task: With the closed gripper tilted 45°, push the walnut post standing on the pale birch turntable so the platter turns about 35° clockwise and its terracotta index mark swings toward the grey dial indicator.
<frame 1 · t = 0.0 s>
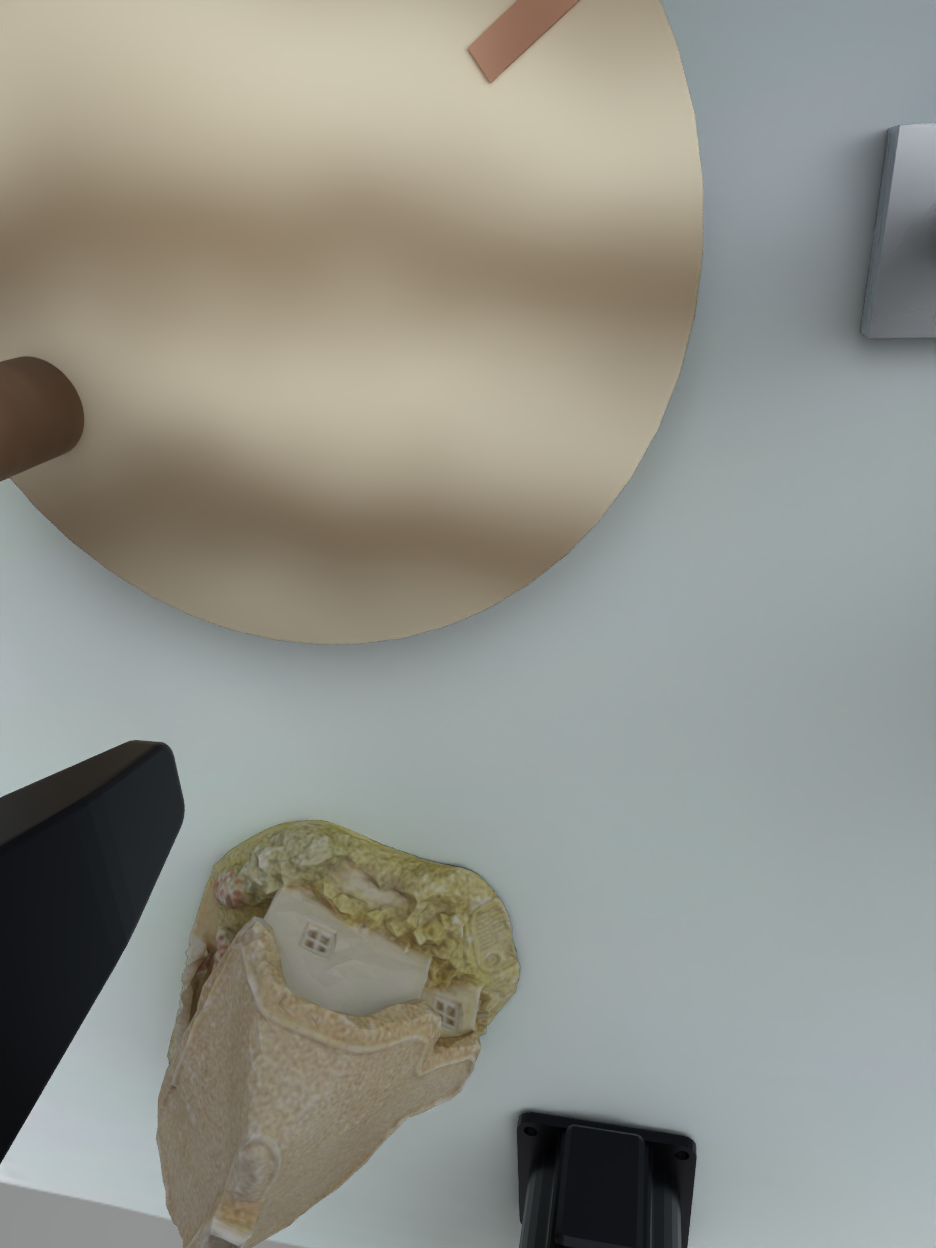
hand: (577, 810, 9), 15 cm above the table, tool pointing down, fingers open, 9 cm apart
turntable: (186, 281, 16), point 7 cm above the table, hinge at 0.0°
ceramic model: (342, 958, 32), on the table
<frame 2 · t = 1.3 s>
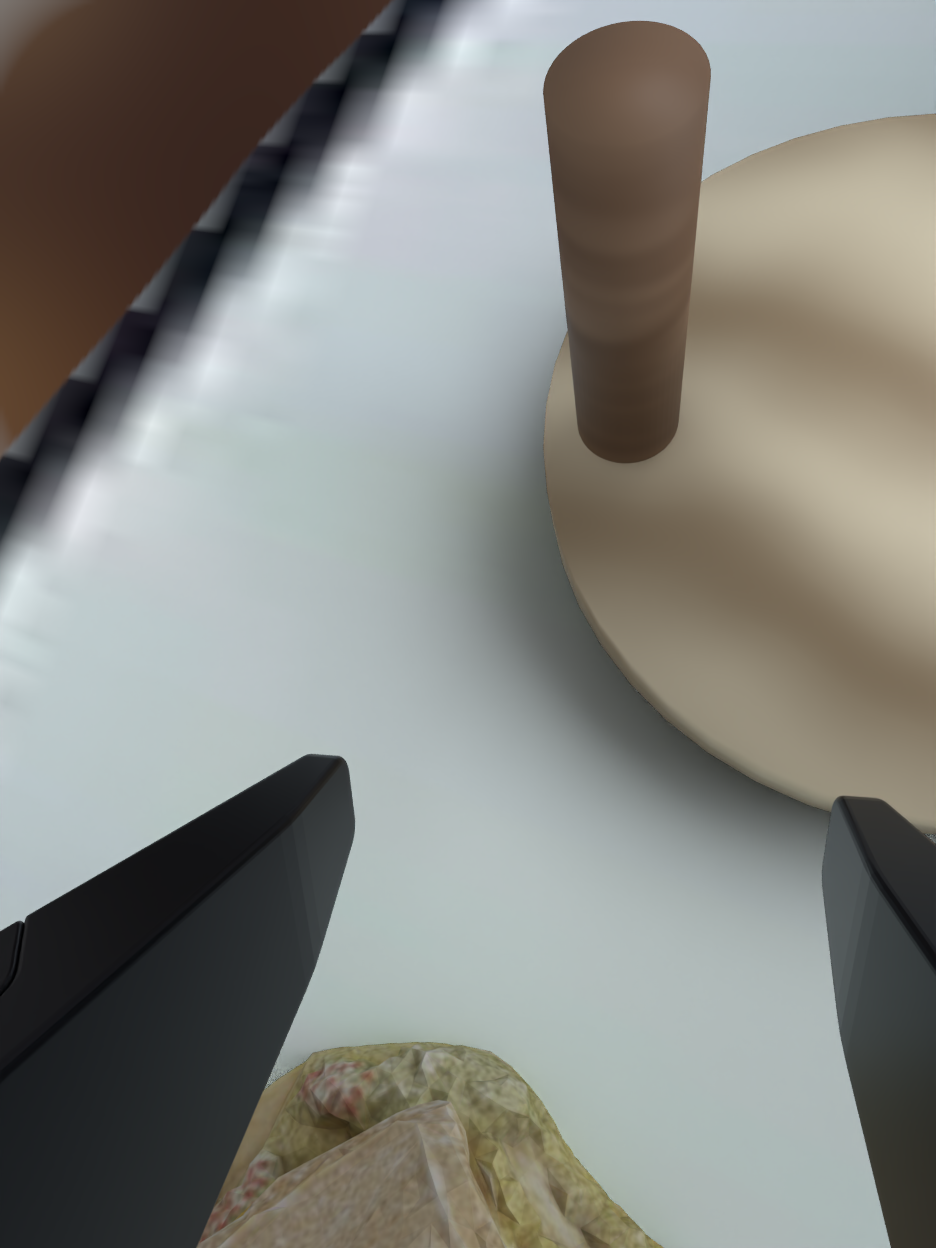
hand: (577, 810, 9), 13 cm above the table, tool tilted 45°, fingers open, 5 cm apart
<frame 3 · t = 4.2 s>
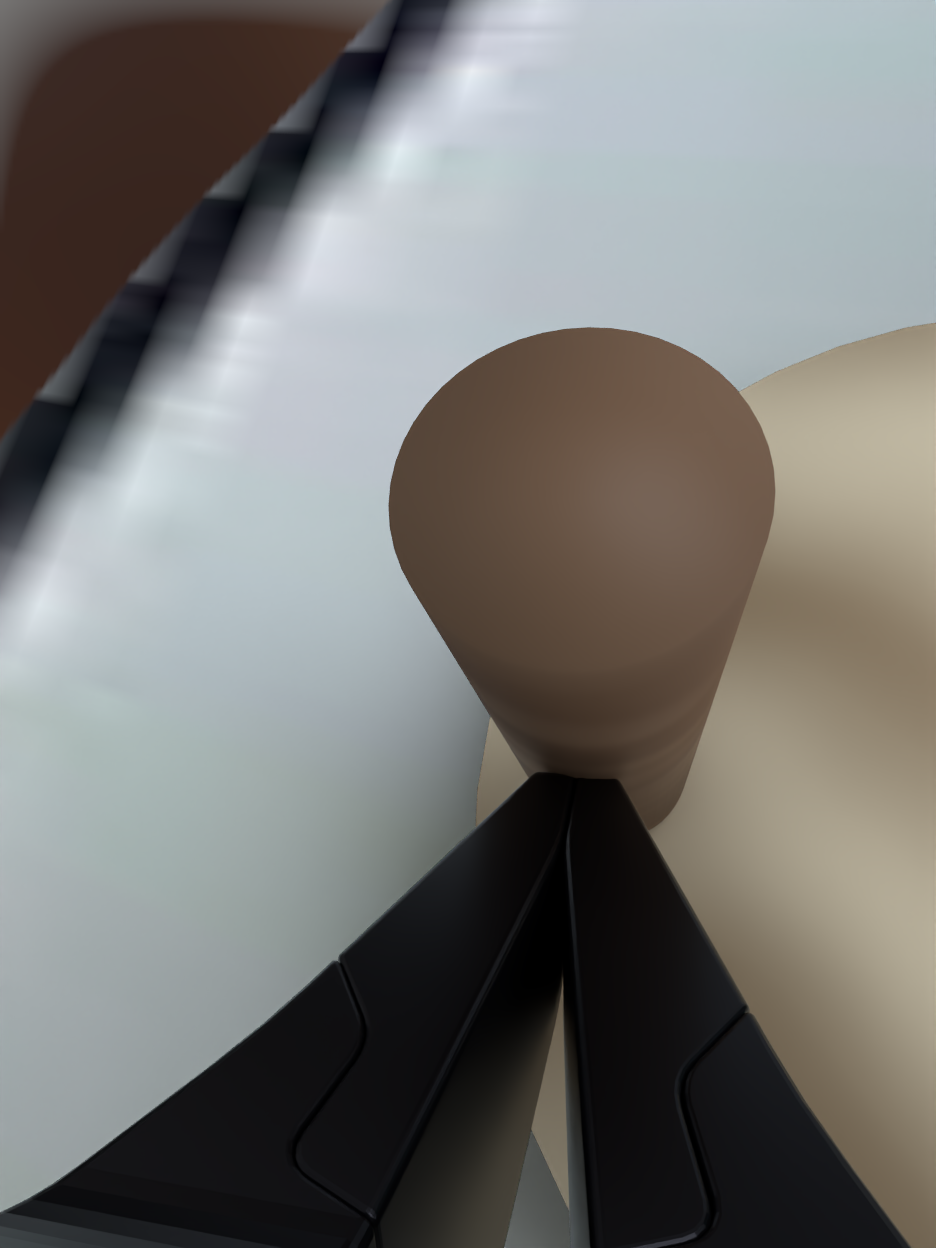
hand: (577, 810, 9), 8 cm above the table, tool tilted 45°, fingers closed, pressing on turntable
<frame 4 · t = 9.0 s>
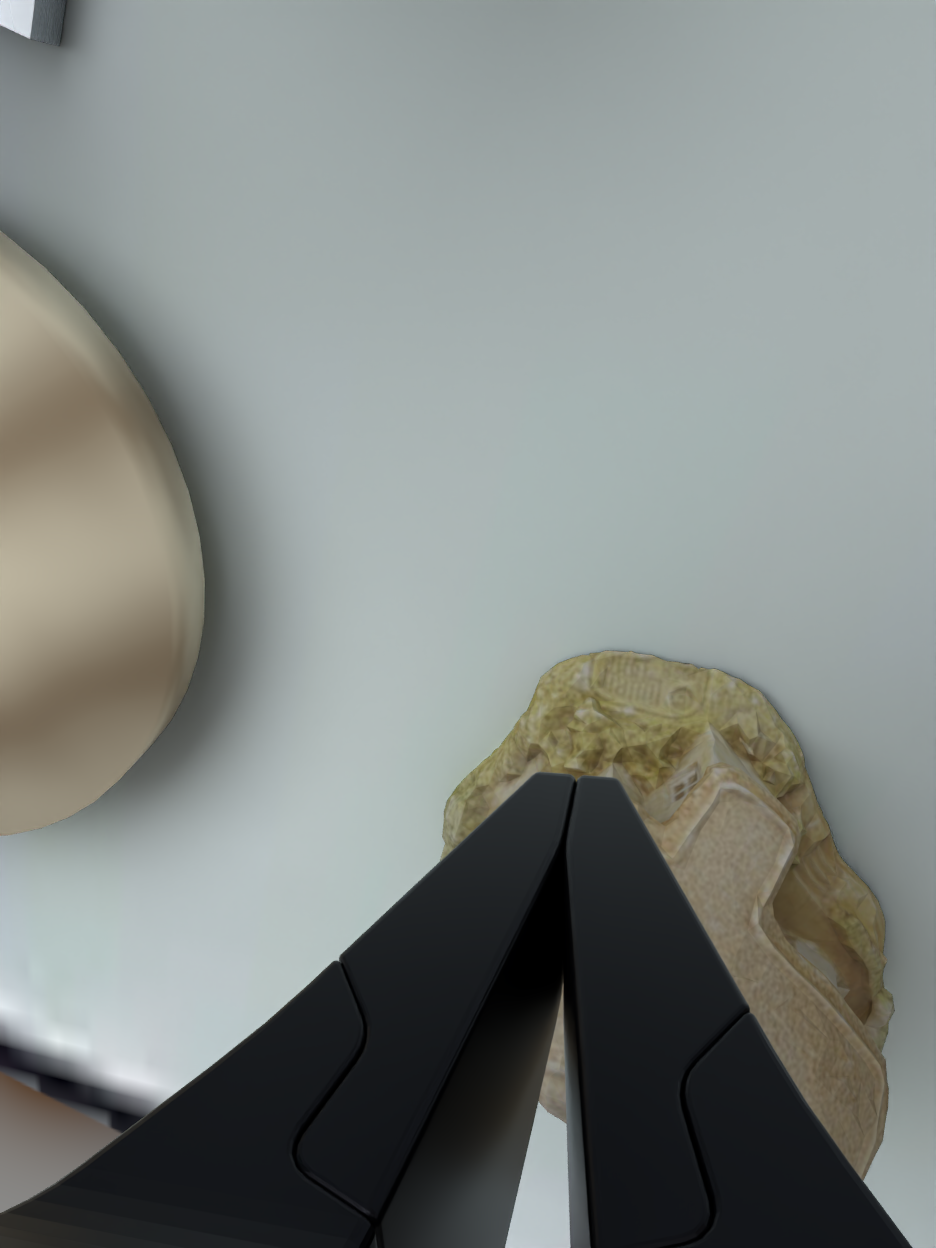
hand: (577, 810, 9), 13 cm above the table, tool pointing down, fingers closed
ceramic model: (669, 863, 26), on the table
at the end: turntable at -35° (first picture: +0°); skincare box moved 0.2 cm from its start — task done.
